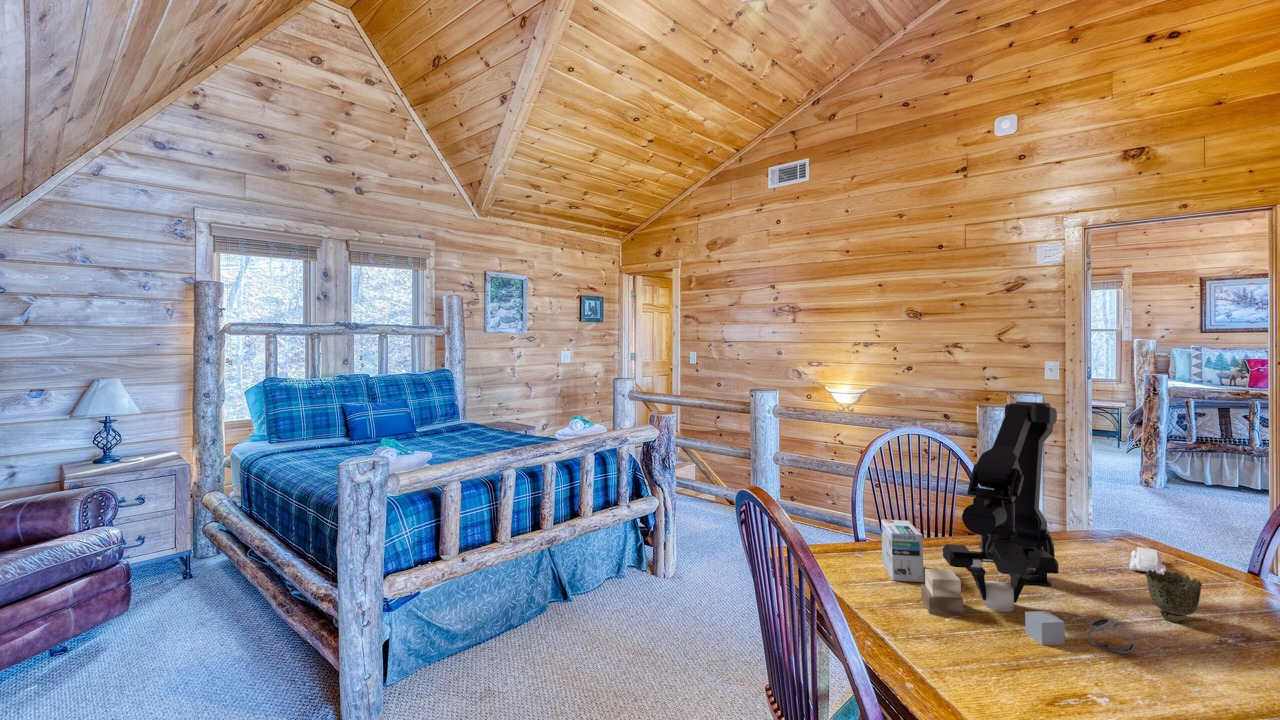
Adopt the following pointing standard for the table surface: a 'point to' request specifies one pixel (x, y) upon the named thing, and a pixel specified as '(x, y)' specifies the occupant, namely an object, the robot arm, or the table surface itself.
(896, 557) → the light bulb box
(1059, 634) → the block
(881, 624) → the table surface
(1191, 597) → the cup
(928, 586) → the tower top
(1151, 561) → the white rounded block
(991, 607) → the white cylinder
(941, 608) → the tower base
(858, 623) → the table surface
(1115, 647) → the wristwatch
